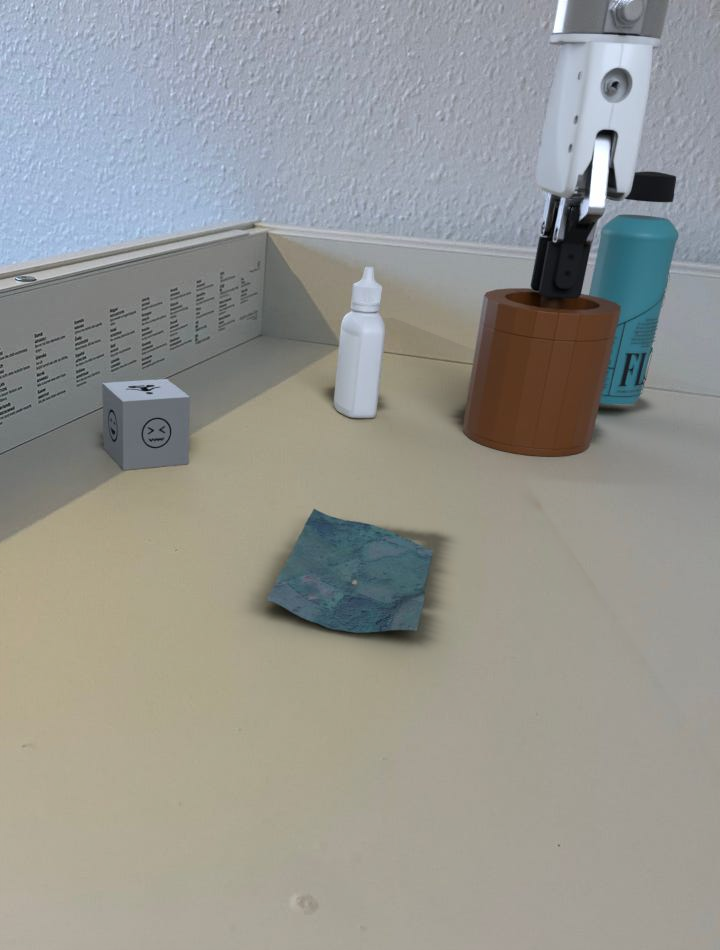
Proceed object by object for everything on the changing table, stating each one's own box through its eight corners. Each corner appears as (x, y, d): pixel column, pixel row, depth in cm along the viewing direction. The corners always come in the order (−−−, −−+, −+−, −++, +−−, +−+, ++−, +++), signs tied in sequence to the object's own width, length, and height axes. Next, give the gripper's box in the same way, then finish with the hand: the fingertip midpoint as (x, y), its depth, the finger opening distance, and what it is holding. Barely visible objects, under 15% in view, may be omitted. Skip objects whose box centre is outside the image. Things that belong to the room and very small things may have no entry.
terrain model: (310, 533, 62) (314, 505, 61) (434, 557, 60) (439, 529, 60) (262, 627, 51) (265, 595, 50) (411, 658, 50) (418, 626, 49)
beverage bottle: (613, 426, 87) (672, 176, 77) (548, 407, 91) (596, 168, 81) (650, 414, 91) (711, 175, 81) (586, 397, 95) (637, 168, 85)
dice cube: (165, 443, 77) (166, 378, 74) (188, 464, 73) (190, 396, 70) (103, 448, 75) (102, 382, 73) (123, 470, 71) (122, 401, 69)
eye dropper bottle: (322, 415, 85) (335, 269, 80) (337, 399, 90) (351, 260, 84) (372, 422, 84) (389, 274, 78) (384, 406, 89) (401, 265, 83)
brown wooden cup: (569, 421, 88) (597, 292, 82) (606, 459, 78) (640, 317, 73) (453, 415, 87) (473, 285, 82) (475, 453, 78) (500, 309, 73)
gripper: (705, 18, 63) (634, 316, 72) (623, 31, 77) (573, 279, 86) (588, 12, 63) (532, 311, 72) (527, 25, 77) (487, 275, 86)
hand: (554, 292), depth 79 cm, fingers closed
